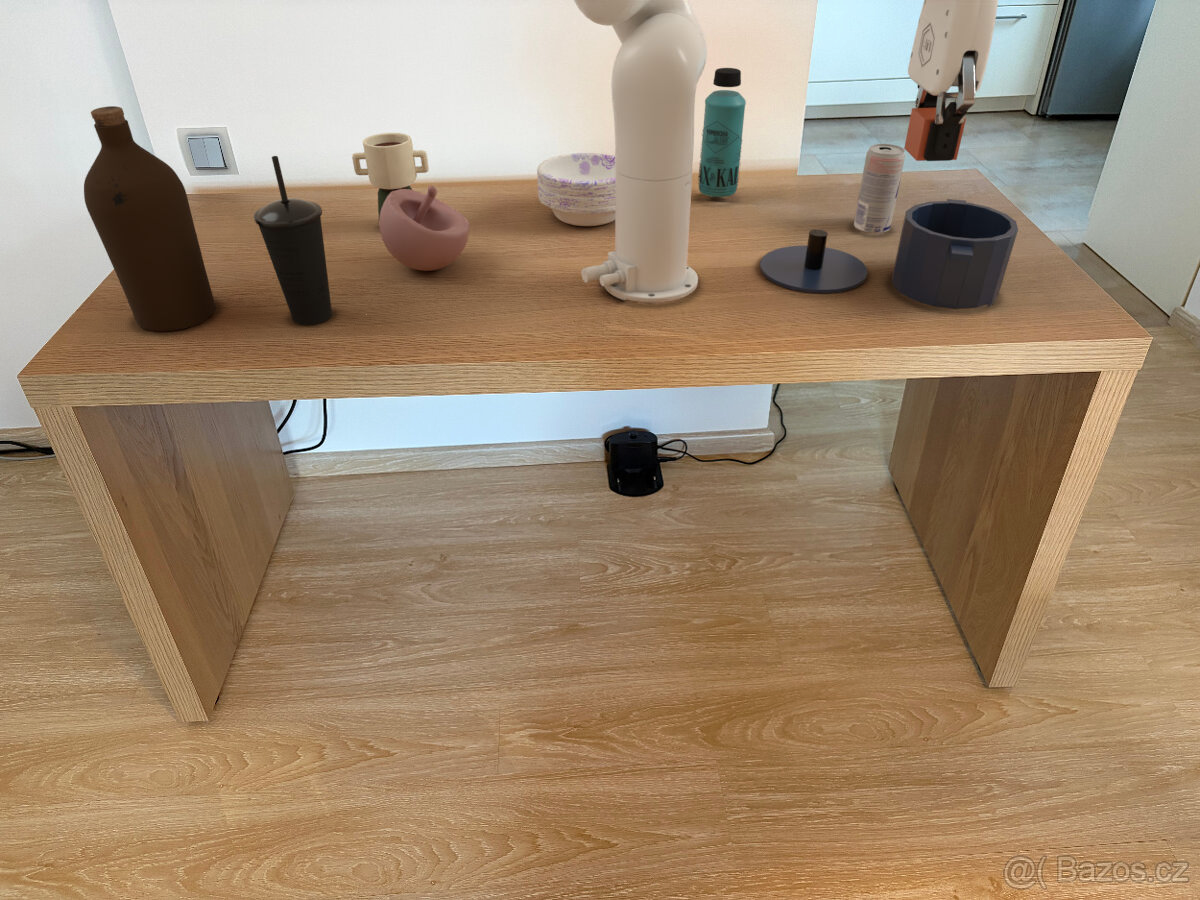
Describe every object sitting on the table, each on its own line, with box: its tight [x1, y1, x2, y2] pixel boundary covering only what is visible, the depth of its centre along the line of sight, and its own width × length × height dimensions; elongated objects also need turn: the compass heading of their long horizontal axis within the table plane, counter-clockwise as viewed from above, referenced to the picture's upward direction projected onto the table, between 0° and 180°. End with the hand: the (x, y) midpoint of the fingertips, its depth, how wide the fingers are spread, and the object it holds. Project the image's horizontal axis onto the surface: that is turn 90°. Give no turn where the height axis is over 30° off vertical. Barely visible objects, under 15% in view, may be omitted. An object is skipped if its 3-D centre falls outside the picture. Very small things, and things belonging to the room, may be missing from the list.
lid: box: [759, 228, 868, 294], centre depth 113 cm, size 14×14×6 cm
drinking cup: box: [253, 155, 333, 326], centre depth 100 cm, size 8×8×20 cm
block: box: [904, 106, 967, 162], centre depth 94 cm, size 4×4×4 cm
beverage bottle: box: [697, 67, 747, 198], centre depth 132 cm, size 6×7×20 cm
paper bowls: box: [536, 152, 615, 227], centre depth 130 cm, size 15×15×8 cm
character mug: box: [351, 132, 430, 219], centre depth 127 cm, size 11×7×13 cm, turn 96°
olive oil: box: [83, 105, 216, 332], centre depth 100 cm, size 11×11×25 cm
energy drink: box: [853, 143, 906, 234], centre depth 124 cm, size 5×5×12 cm
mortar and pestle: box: [378, 185, 470, 272], centre depth 115 cm, size 12×12×11 cm
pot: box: [891, 198, 1019, 310], centre depth 108 cm, size 13×19×10 cm
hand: (930, 150), depth 95 cm, fingers closed on block, 4 cm apart
